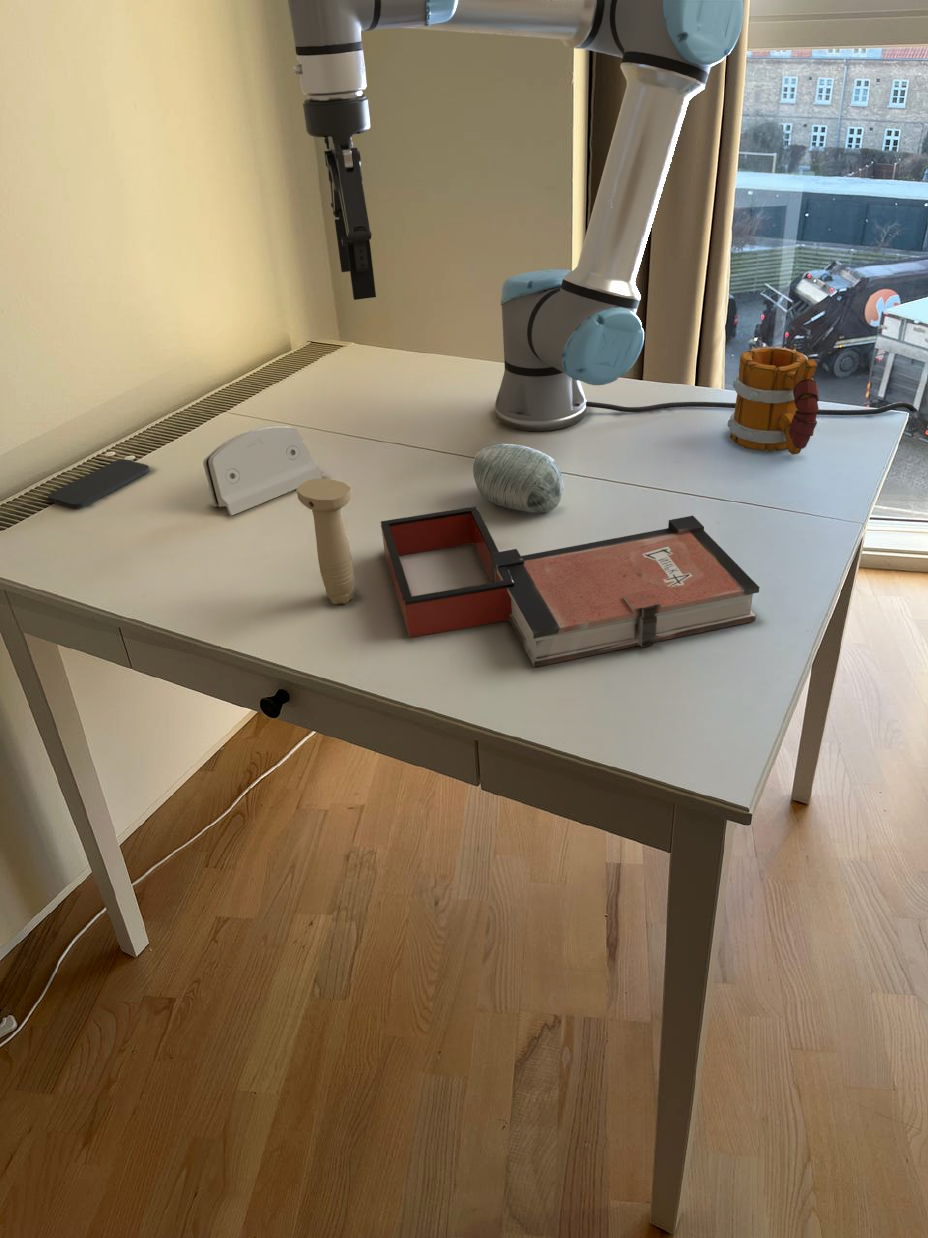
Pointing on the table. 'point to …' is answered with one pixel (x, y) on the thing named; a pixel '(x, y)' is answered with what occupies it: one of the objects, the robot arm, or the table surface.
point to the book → (623, 592)
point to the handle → (330, 535)
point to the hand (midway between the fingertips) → (358, 283)
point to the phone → (98, 483)
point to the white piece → (258, 467)
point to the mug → (774, 400)
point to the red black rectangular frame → (447, 605)
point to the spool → (518, 478)
